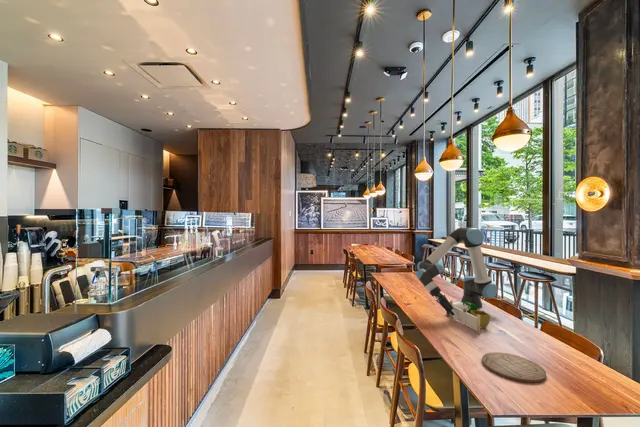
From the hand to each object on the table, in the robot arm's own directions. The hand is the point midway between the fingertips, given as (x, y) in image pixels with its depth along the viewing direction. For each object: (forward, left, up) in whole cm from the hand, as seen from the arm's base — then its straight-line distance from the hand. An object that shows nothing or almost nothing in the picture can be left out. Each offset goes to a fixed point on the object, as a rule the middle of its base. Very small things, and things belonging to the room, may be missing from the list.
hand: (457, 318), depth 192 cm
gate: (-2, -1, -2) cm, 3 cm away
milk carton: (-26, -5, +1) cm, 27 cm away
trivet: (+28, +49, -4) cm, 57 cm away
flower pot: (-8, +10, -3) cm, 13 cm away
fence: (-1, +4, -3) cm, 5 cm away
